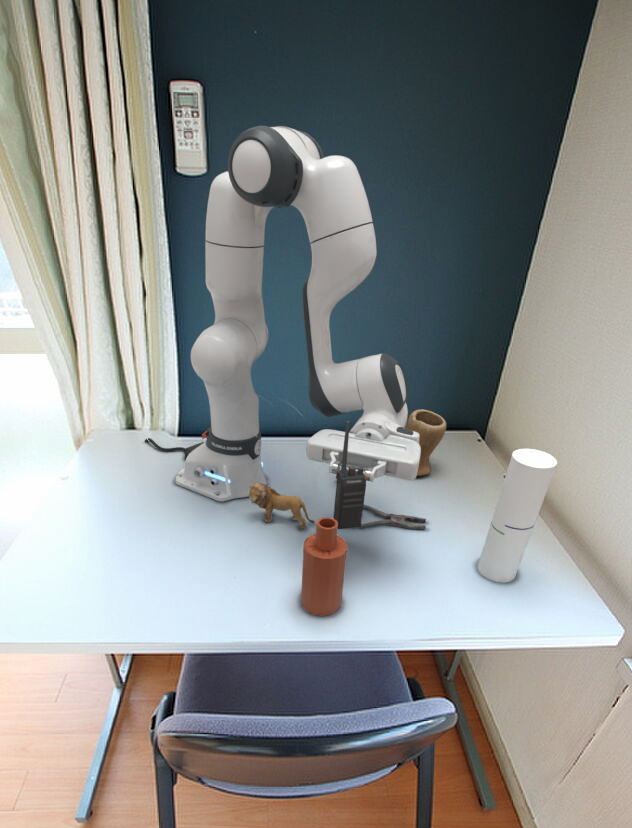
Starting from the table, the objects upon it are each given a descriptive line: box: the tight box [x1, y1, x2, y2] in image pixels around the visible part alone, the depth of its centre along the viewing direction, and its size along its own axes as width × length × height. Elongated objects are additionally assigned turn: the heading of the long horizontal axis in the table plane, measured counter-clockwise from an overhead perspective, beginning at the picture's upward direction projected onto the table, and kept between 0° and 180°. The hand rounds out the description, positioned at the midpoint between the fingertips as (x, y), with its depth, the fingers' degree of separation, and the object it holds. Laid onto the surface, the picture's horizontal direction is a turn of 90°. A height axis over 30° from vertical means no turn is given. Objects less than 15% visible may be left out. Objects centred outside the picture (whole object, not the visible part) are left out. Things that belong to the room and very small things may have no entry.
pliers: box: [356, 504, 427, 530], centre depth 116 cm, size 10×1×20 cm
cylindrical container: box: [477, 448, 558, 584], centre depth 94 cm, size 7×7×25 cm
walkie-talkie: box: [332, 420, 367, 530], centre depth 87 cm, size 5×3×20 cm
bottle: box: [300, 516, 348, 617], centre depth 88 cm, size 7×7×18 cm
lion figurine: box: [248, 483, 315, 530], centre depth 111 cm, size 15×5×9 cm, turn 81°
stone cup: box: [405, 408, 447, 477], centre depth 133 cm, size 15×12×15 cm
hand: (350, 473), depth 86 cm, fingers closed on walkie-talkie, 5 cm apart
